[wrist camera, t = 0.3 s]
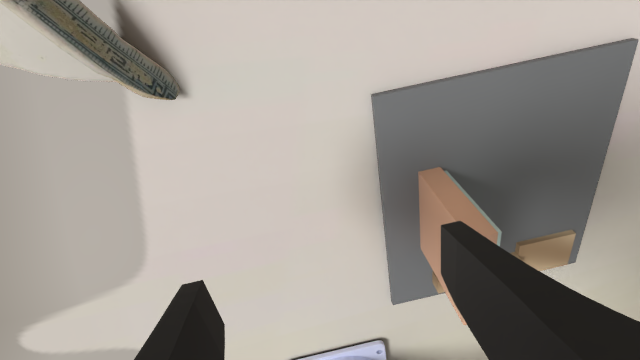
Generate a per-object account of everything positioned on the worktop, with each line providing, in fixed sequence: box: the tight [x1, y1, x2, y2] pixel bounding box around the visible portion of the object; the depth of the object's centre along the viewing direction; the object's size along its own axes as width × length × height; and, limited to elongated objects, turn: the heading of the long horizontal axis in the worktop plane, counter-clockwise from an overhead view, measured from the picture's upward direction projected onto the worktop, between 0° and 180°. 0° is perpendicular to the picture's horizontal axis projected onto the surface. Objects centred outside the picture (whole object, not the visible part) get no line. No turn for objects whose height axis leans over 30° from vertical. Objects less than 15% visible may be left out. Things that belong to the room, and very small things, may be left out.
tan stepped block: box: [432, 230, 576, 294], centre depth 25 cm, size 3×10×1 cm, turn 100°
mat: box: [371, 38, 638, 305], centre depth 23 cm, size 16×14×1 cm
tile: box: [418, 167, 502, 325], centre depth 20 cm, size 6×2×6 cm, turn 10°
